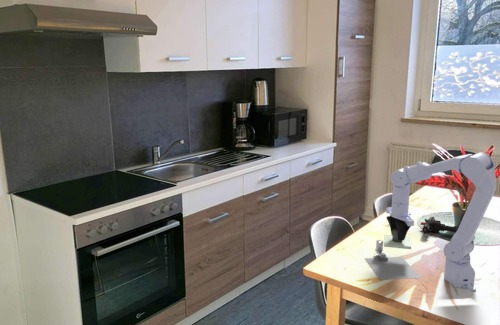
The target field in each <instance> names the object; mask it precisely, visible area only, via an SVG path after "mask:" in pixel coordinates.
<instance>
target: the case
mask: <svg viewBox="0 0 500 325" xmlns="http://www.w3.org/2000/svg"><path fill="white" fill-rule="evenodd" d="M364 261H366V262H367V264H368V266H369V267H370V268H371V269H372V271H373V272H374V274H375V275H376V277H377V278H378V280H381V281H383V280H402V279H403V280H405V279H406V280H407V279H422V278H421V276H420V275H419V273H417V271H415V270H414V268H413V267H411V265H410V264H409V263H408V262H407V261H406V259H404V257H403V256H393V257H392V256H389V257H388V256H387V255H386V257H382V258H380V256H379V255H378V254H377V255H375V257H369V258H364Z"/></svg>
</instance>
